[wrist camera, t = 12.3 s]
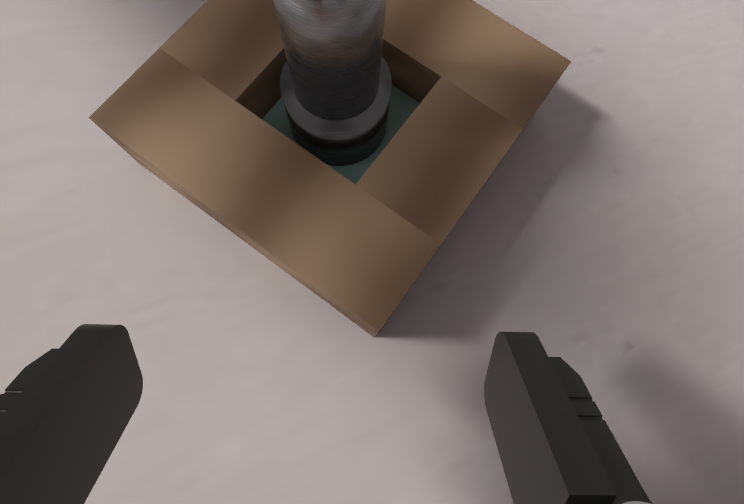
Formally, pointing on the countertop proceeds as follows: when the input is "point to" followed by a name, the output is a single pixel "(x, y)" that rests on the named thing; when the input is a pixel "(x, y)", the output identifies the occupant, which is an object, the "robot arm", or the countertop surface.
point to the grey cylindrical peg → (335, 76)
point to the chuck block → (309, 174)
